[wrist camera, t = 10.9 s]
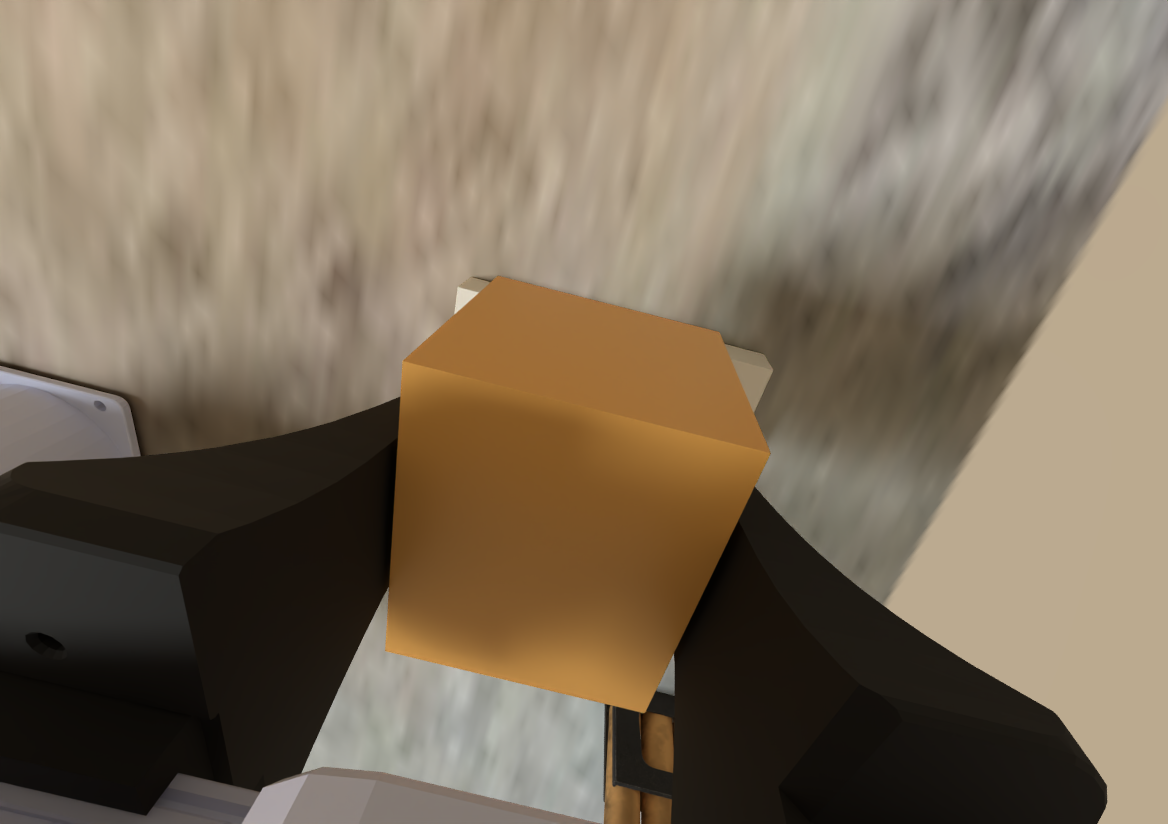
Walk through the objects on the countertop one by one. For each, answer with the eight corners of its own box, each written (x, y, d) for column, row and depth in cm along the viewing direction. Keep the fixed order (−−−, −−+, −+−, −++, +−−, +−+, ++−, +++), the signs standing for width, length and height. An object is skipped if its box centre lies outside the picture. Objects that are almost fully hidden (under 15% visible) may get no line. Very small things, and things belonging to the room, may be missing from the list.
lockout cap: (466, 490, 14) (385, 650, 9) (497, 275, 11) (402, 360, 7) (643, 534, 14) (645, 713, 10) (719, 332, 11) (771, 452, 7)
